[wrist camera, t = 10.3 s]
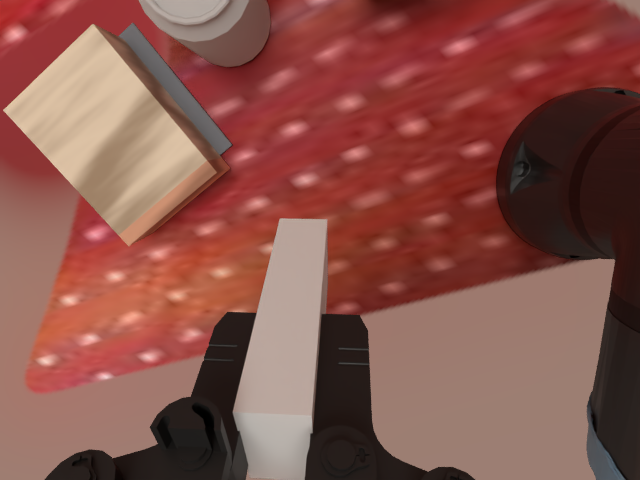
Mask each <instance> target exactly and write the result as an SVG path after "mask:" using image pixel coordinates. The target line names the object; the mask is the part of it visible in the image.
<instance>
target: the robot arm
mask: <svg viewBox="0 0 640 480" xmlns="http://www.w3.org/2000/svg"><path fill="white" fill-rule="evenodd" d="M497 195H498V201H499V205H500V208H501V211H502V213H503V215H504V217H505V219H506V221H507V223H508V224H509V226H510V227H511V228H512V230H513V231H514V232H515V233H516V234H517V235H518V236H519V237H520V238H522V239H523V240H524V241H526V242H527V243H528V244H530V245H532V246H534V247H536V248H538V249H540V250H542V251H544V252H546V253H548V254H551V255H554V256H557V257H561V258H566V259H573V260H590V259H598V258H601V259H615V266H614V272H613V277H612V283H611V291H610V297H609V302H608V305H607V311H606V317H605V324H604V329H603V336H602V342H601V348H600V354H599V360H598V365H597V371H596V376H595V382H594V386H593V391H592V392H591V395H590V397H589V401H588V405H587V418H588V423H589V426H588V436H587V455H588V460H589V464H590V467H591V468H592V470H593V472H594V475H595V477H596V480H640V94H638V93H636V92H632V91H629V90H625V89H620V88H608V87H601V88H591V89H585V90H580V91H575V92H570V93H567V94H564V95H561V96H558V97H556V98H553V99H551V100H549V101H548V102H546V103H544V104H543V105H541V106H540V107H538V108H537V109H535V110H534V111H533V112H532V113H530V114H529V115H528V116H527V117H526V118H525V119H524V120H523V121H522V122H521V123H520V125H519V126H518V127H517V128H516V130H515V131H514V132H513V134H512V135H511V137H510V138H509V140H508V142H507V144H506V146H505V148H504V150H503V153H502V156H501V159H500V162H499V167H498V172H497ZM327 288H328V251H327V219H280V220H279V224H278V228H277V233H276V237H275V241H274V245H273V249H272V253H271V257H270V261H269V265H268V269H267V273H266V278H265V282H264V286H263V290H262V294H261V298H260V302H259V306H258V310H257V313H243V312H227V313H226V314H225V315H224V317H223V318H222V319H221V320H220V321H219V322H218V323H217V325H216V326H215V327H214V330H213V333H212V336H211V339H210V342H209V347H208V348H207V351H206V354H205V357H204V361H203V362H202V365H201V368H200V371H199V374H198V377H197V380H196V383H195V386H194V389H193V392H192V395H191V397H186V398H181V399H179V400H177V401H175V402H173V403H171V404H169V405H168V406H166V407H165V408H164V409H163V410H162V411H161V412H160V413H159V414H158V415H157V416H156V418H155V419H154V421H153V423H152V425H151V426H150V428H151V431H152V432H153V435H154V436H155V438H156V440H157V442H158V444H157V445H155V446H152V447H150V448H148V449H145V450H141V451H138V452H134V453H131V454H127V455H123V456H120V457H116V458H113V459H112V457H111V456H109V455H108V454H106V453H105V452H103V451H100V450H87V451H83V452H79V453H76V454H74V455H72V456H71V457H69V458H67V459H66V460H64V461H62V462H61V463H60V464H59V465H58V466H57V467H56V468H55V469H54V470H53V471H52V472H51V473H50V474H49V475H48V476H47V478H46V479H45V480H246V475H247V469H248V473H249V476H250V478H263V479H280V480H475V479H474V478H472V477H471V476H470V475H469V474H468V473H466V472H464V471H461V470H458V469H456V468H454V467H438V468H435V469H433V470H431V471H429V472H427V471H425V470H422V469H420V468H417V467H415V466H412V465H410V464H408V463H405V462H403V461H401V460H399V459H397V458H395V457H393V456H392V455H391V454H390V453H388V452H387V451H386V450H385V449H384V448H383V446H382V445H381V444H380V442H379V441H378V440H377V437H376V435H375V433H374V430H373V424H372V413H371V412H372V411H371V389H370V368H369V344H368V330H367V328H366V326H365V324H364V323H363V321H362V319H361V317H360V315H342V314H326V304H327Z"/></svg>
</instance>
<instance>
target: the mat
mask: <svg viewBox="0 0 640 480" xmlns="http://www.w3.org/2000/svg"><path fill="white" fill-rule="evenodd" d="M118 37H120V38H122V39H124V40H125V41H126V42H127V44H128V45H129V46H130V47H131V48H132V50H133V51H134V52H135V53H136V55H137V56H138V57H139V58H140V59H141V61H142V62H143V63H144V64H145V65H146V67H147V68H148V69H149V70H150V71H151V73H152V74H153V75H154V76H155V78H156V79H157V80H158V81H159V82H160V84H161V85H162V86H163V87H164V88H165V90H166V91H167V92H168V93H169V94H170V96H171V97H172V98H173V99H174V101H175V102H176V103H177V104H178V105H179V107H180V108H181V109H182V110H183V111H184V113H185V114H186V115H187V116H188V117H189V119H190V120H191V121H192V122H193V124H194V125H195V126H196V127H197V128H198V130H199V131H200V132H201V133H202V134H203V136H204V137H205V138H206V139H207V141H208V142H209V143H210V144H211V145H212V147H213V148H214V149H215V150H216V151H217V153H218V154H219V155H221V154H222V153H224V152H225V151H226V150H227V149H228V148H230V147H231V146H232V143H231V142H230V141H229V140H228V139H227V137H226V136H225V135H224V134H223V132H222V131H221V130H220V129H219V127H218V126H217V125H216V124H215V123H214V121H213V120H212V119H211V118H210V116H209V115H208V114H207V113H206V111H205V110H204V109H203V108H202V107H201V105H200V104H199V103H198V102H197V100H196V99H195V98H194V97H193V95H192V94H191V93H190V92H189V91H188V89H187V88H186V87H185V86H184V84H183V83H182V82H181V81H180V79H179V78H178V77H177V76H176V75H175V73H174V72H173V71H172V70H171V68H170V67H169V66H168V65H167V63H166V62H165V61H164V60H163V59H162V57H161V56H160V55H159V54H158V52H157V51H156V50H155V49H154V48H153V46H152V45H151V44H150V43H149V41H148V40H147V39H146V38H145V37H144V35H143V34H142V33H141V31H140V30H139V29H138V28H137V27H136V25H135V24H134V23H132V24H131V25H130V26H129V27H128V28H127V29H126V30H124V31H123V32H122V33H121V34H120V35H119V36H118Z"/></svg>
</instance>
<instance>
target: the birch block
mask: <svg viewBox="0 0 640 480" xmlns="http://www.w3.org/2000/svg"><path fill="white" fill-rule="evenodd" d="M4 111H5V113H6V114H7V115H8V116H9V117H10V118H11V119H12V120H13V121H14V122H15V123H16V125H17V126H18V127H19V128H20V129H21V130H22V131H23V132H24V133H25V134H26V135H27V136H28V138H30V139H31V141H32V142H33V143H34V144H35V145H36V146H37V147H38V148H39V149H40V151H41V152H42V153H43V154H44V155H45V156H46V157H47V158H48V159H49V160H50V161H51V163H52V164H53V165H55V167H56V168H57V169H58V170H59V171H60V172H61V173H62V174H63V176H64V177H65V178H66V179H67V180H68V181H69V182H70V183H71V184H72V185H73V186H74V187H75V189H76V190H77V191H78V192H79V193H80V194H81V195H82V196H83V197H84V198H85V199H86V200H87V202H88V203H89V204H90V205H91V206H92V207H93V208H94V209H95V210H96V211H97V212H98V214H99V215H100V216H101V217H102V218H103V219H104V220H105V221H106V222H107V223H108V224H109V225H110V227H111V228H112V229H113V230H114V231H115V232H116V233H117V234H118V235H119V236H120V237H121V238H122V240H123V241H124V242H125V243H126V244H127V245H128V246H130V245H132V244H134V243H135V242H137V241H139V240H141V239H143V238H145V237H146V236H148V235H150V234H152V233H153V232H155V231H156V230H157V229H158V228H159V227H161V226H162V225H163V224H164V223H165V222H167V221H168V220H169V219H170V218H171V217H173V216H174V215H175V214H176V213H177V212H179V211H180V210H181V209H182V208H183V207H185V206H186V205H187V204H188V203H189V202H191V201H192V200H193V199H194V198H195V197H197V196H198V195H199V194H200V193H201V192H203V191H204V190H205V189H206V188H207V187H209V186H210V185H211V184H212V183H213V182H215V181H216V180H217V179H218V178H219V177H221V176H222V175H223V174H224V173H226V172H227V171H228V170H229V169H230V167H229V166H228V165H227V164H226V162H225V161H224V160H223V159H222V157H221V156H220V155H219V154H218V153H217V151H216V150H215V149H214V148H213V147H212V145H211V144H210V143H209V142H208V141H207V139H206V138H205V137H204V136H203V134H202V133H201V132H200V131H199V130H198V128H197V127H196V126H195V125H194V124H193V122H192V121H191V120H190V119H189V117H188V116H187V115H186V114H185V113H184V111H183V110H182V109H181V108H180V107H179V105H178V104H177V103H176V102H175V101H174V99H173V98H172V97H171V96H170V94H169V93H168V92H167V91H166V90H165V88H164V87H163V86H162V85H161V84H160V82H159V81H158V80H157V79H156V78H155V76H154V75H153V74H152V73H151V71H150V70H149V69H148V68H147V67H146V65H145V64H144V63H143V62H142V61H141V59H140V58H139V57H138V56H137V55H136V53H135V52H134V51H133V50H132V48H131V47H130V46H129V45H128V44H127V42H126V41H125V40H124V39H122V38H120V37H118V36H116V35H114V34H112V33H110V32H108V31H106V30H104V29H102V28H100V27H98V26H96V25H94V24H92V25H91V26H90V27H89V28H88V29H87V30H86V31H85V32H84V33H83V34H82V35H81V36H80V37H79V38H78V39H77V40H76V41H75V42H73V43H72V44H71V45H70V46H69V47H68V48H67V49H66V50H65V51H64V52H63V53H62V54H61V55H60V56H59V57H58V58H57V59H56V60H55V61H54V62H53V63H52V64H51V65H50V66H49V67H48V68H47V69H46V70H45V71H43V73H41V74H40V75H39V76H38V77H37V78H36V79H35V80H34V81H33V82H32V83H31V84H30V85H29V86H28V87H27V88H26V89H25V90H24V91H23V92H22V93H21V94H20V95H19V96H18V97H17V98H16V99H15V100H14V101H12V102H11V103H10V104H9V105H8V106H7V107H6V108H5V109H4Z"/></svg>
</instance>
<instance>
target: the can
mask: <svg viewBox="0 0 640 480" xmlns="http://www.w3.org/2000/svg"><path fill="white" fill-rule="evenodd" d="M139 2H140V4H141V6H142V8H143V10H144V12H145V13H146V15H147V16H148V17H149V18H150V19H151V20H152V21H153V22H154V23H155V24H156V25H157V27H158V28H160V29H161V30H163V31H164V32H165V33H167V34H168V35H170V36H171V37H173V38H174V39H176V40H177V41H178V42H180V43H181V44H183V45H184V46H186V47H187V48H189V49H190V50H192V51H193V52H195V53H196V54H197V55H199V56H200V57H202V58H204V59H205V60H207V61H209V62H210V63H212V64H215V65H219V66H224V67H232V66H240V65H242V64H244V63H246V62H248V61H250V60H252V59H253V58H254V57H255V56H256V55H257V54H258V53H259V52H260V51H261V50H262V49H263V47H264V45H265V43H266V41H267V39H268V36H269V30H270V24H271V19H270V11H269V6H268V3H267V1H266V0H139Z"/></svg>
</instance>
